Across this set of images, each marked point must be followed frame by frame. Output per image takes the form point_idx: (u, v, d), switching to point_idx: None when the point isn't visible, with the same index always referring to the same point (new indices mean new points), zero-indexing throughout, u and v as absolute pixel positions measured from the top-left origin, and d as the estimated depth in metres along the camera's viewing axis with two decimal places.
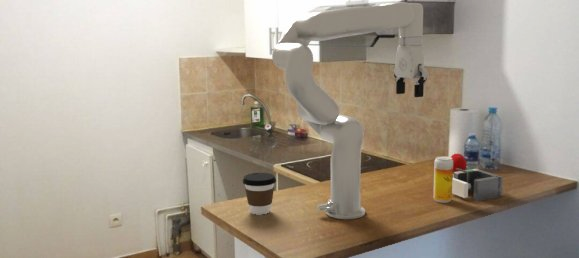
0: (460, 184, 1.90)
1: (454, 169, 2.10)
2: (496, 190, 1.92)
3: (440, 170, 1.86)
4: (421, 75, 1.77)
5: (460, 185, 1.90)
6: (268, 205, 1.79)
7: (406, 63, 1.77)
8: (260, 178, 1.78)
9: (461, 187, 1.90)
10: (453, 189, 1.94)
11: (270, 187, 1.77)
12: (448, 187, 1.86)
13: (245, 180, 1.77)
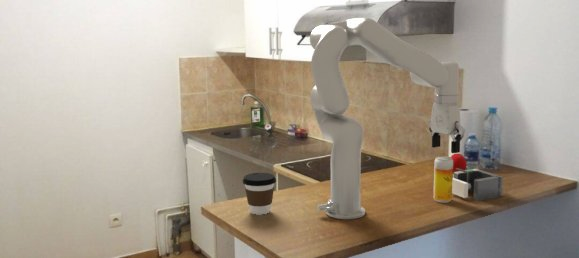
0: (460, 184, 1.90)
1: (454, 169, 2.10)
2: (496, 190, 1.92)
3: (440, 170, 1.86)
4: (457, 131, 1.82)
5: (460, 185, 1.90)
6: (268, 205, 1.79)
7: (443, 120, 1.82)
8: (260, 178, 1.78)
9: (461, 187, 1.90)
10: (453, 189, 1.94)
11: (270, 187, 1.77)
12: (448, 187, 1.86)
13: (245, 180, 1.77)
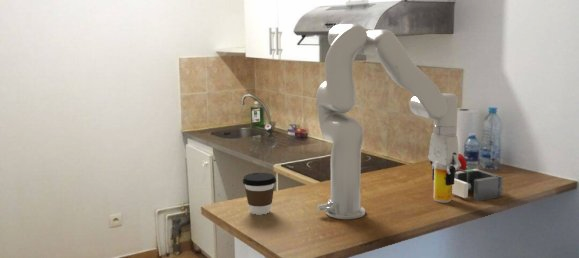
0: (460, 184, 1.90)
1: None
2: (496, 190, 1.92)
3: (440, 170, 1.86)
4: None
5: (460, 185, 1.90)
6: (268, 205, 1.79)
7: (441, 151, 1.84)
8: (260, 178, 1.78)
9: (461, 187, 1.90)
10: (453, 189, 1.94)
11: (270, 187, 1.77)
12: (448, 187, 1.86)
13: (245, 180, 1.77)
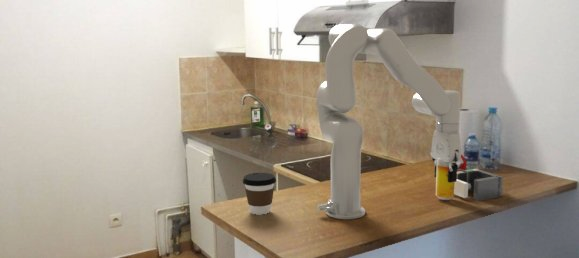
0: (460, 184, 1.90)
1: None
2: (496, 190, 1.92)
3: (442, 167, 1.86)
4: None
5: (460, 185, 1.90)
6: (268, 205, 1.79)
7: (443, 148, 1.84)
8: (260, 178, 1.78)
9: (461, 187, 1.90)
10: None
11: (270, 187, 1.77)
12: (450, 184, 1.87)
13: (245, 180, 1.77)
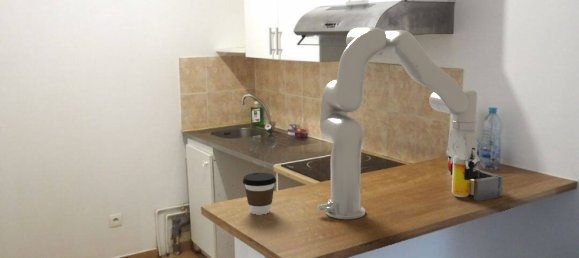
0: (471, 182, 1.92)
1: None
2: (496, 190, 1.92)
3: (459, 165, 1.89)
4: None
5: (471, 183, 1.92)
6: (268, 205, 1.79)
7: (460, 146, 1.87)
8: (260, 178, 1.78)
9: (472, 185, 1.92)
10: None
11: (270, 187, 1.77)
12: (467, 182, 1.90)
13: (245, 180, 1.77)
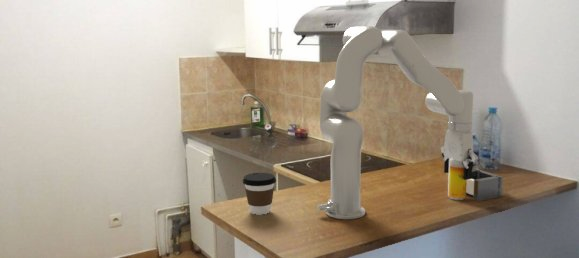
0: (471, 182, 1.92)
1: None
2: (496, 190, 1.92)
3: (454, 168, 1.88)
4: (470, 159, 1.87)
5: (471, 183, 1.92)
6: (268, 205, 1.79)
7: (456, 147, 1.87)
8: (260, 178, 1.78)
9: (472, 185, 1.92)
10: None
11: (270, 187, 1.77)
12: (463, 185, 1.89)
13: (245, 180, 1.77)
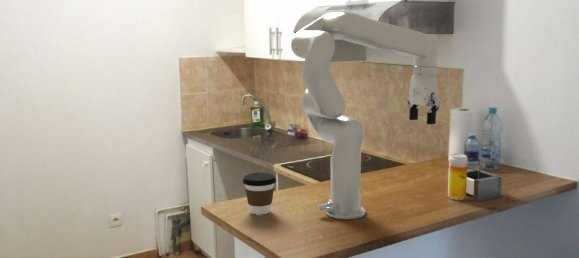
0: (471, 182, 1.92)
1: None
2: (496, 190, 1.92)
3: (454, 168, 1.88)
4: (434, 103, 1.85)
5: (471, 183, 1.92)
6: (268, 205, 1.79)
7: (420, 91, 1.85)
8: (260, 178, 1.78)
9: (472, 185, 1.92)
10: None
11: (270, 187, 1.77)
12: (463, 185, 1.89)
13: (245, 180, 1.77)
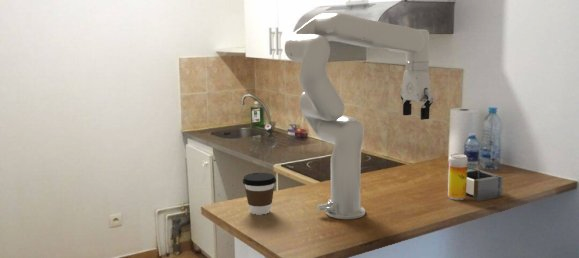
0: (471, 182, 1.92)
1: None
2: (496, 190, 1.92)
3: (454, 168, 1.88)
4: (427, 98, 1.85)
5: (471, 183, 1.92)
6: (268, 205, 1.79)
7: (413, 87, 1.85)
8: (260, 178, 1.78)
9: (472, 185, 1.92)
10: None
11: (270, 187, 1.77)
12: (463, 185, 1.89)
13: (245, 180, 1.77)
